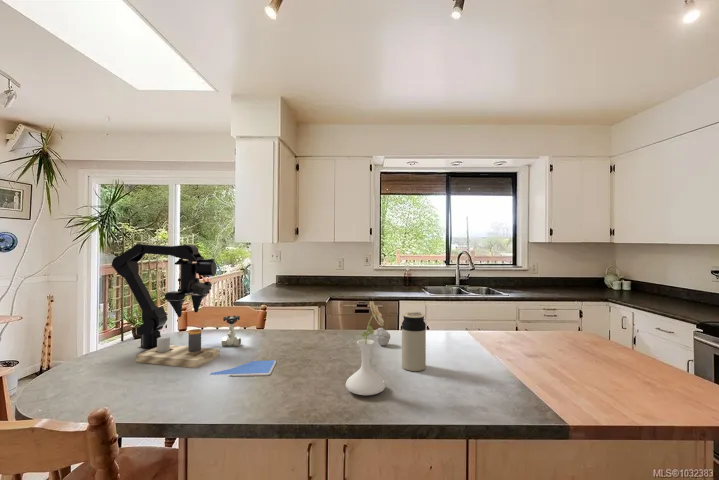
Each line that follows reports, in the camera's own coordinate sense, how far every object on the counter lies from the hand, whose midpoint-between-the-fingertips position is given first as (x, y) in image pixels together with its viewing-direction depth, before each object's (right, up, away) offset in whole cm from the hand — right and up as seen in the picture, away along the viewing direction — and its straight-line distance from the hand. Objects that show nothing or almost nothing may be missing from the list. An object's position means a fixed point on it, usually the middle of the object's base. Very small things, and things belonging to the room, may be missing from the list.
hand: (188, 314), depth 134 cm
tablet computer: (+31, -14, -23) cm, 41 cm away
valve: (+17, -13, 0) cm, 22 cm away
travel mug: (+87, -13, -22) cm, 91 cm away
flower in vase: (+71, -13, -39) cm, 82 cm away
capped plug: (+11, -9, -17) cm, 22 cm away
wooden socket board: (+5, -13, -15) cm, 21 cm away
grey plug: (-2, -12, -14) cm, 19 cm away
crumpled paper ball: (+79, -13, +3) cm, 80 cm away
